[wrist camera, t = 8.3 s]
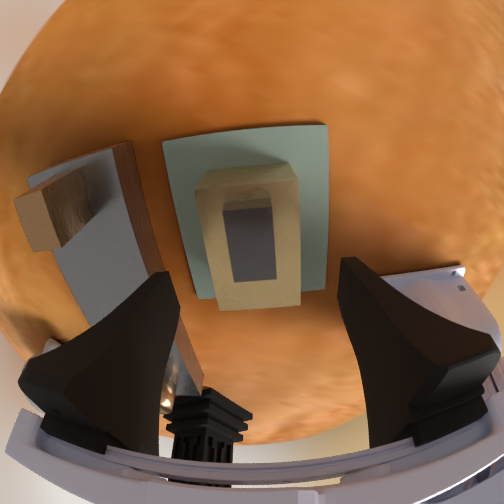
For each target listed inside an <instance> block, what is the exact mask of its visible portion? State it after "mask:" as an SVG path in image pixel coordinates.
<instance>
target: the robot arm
mask: <svg viewBox="0 0 504 504" xmlns="http://www.w3.org/2000/svg"><path fill="white" fill-rule="evenodd" d="M464 273H465V267H464V266H463V265H458V266H452V267H445V268H438V269H432V270H425V271H418V272H410V273H403V274H395V275H387V276H378V275H377V274H376V273H375V272H374V271H372V270H371V269H370V268H369V267H367V266H366V265H365V264H364V263H363V262H361V261H360V260H359V259H357V258H356V257H345V258H341V264H340V275H339V285H338V294H337V298H338V302H339V307H340V311H341V315H342V318H343V321H344V324H345V327H346V330H347V332H348V335H349V338H350V341H351V344H352V346H353V349H354V352H355V355H356V358H357V361H358V365H359V369H360V374H361V379H362V384H363V390H364V396H365V402H366V410H367V419H368V429H369V445H370V449H367V450H363V451H358V452H354V453H349V454H343V455H338V456H332V457H326V458H319V459H312V460H302V461H292V462H280V463H252V464H250V463H249V464H248V463H246V464H245V463H244V464H242V463H241V464H240V463H239V464H238V463H213V462H199V461H189V460H180V459H173V458H166V457H159V413H160V402H161V393H162V386H163V379H164V374H165V369H166V366H167V362H168V358H169V355H170V351H171V348H172V345H173V341H174V338H175V334H176V331H177V327H178V321H179V314H180V305H179V302H178V299H177V296H176V293H175V290H174V287H173V284H172V281H171V277H170V274H169V271H164V272H155V273H154V274H153V275H151V276H150V277H149V278H148V279H147V280H146V281H145V282H144V283H142V284H141V285H140V286H139V287H138V288H137V289H136V290H135V291H134V292H133V293H132V294H131V295H130V296H129V297H127V298H126V299H125V300H124V301H123V302H122V303H121V304H120V305H118V306H117V307H116V308H115V309H114V310H113V311H112V312H110V313H109V314H108V315H107V316H106V317H104V318H103V319H102V320H100V321H99V322H98V323H96V324H95V325H94V326H92V327H91V328H89V329H88V330H86V331H85V332H83V333H82V334H80V335H78V336H77V337H75V338H74V339H72V340H70V341H68V342H67V343H65V344H63V345H61V346H59V347H57V348H55V349H53V350H51V351H49V352H46V353H44V354H41V355H39V356H36V357H34V358H31V359H29V361H28V363H27V364H26V366H25V368H24V370H23V372H22V374H21V376H20V377H19V380H18V384H19V387H20V389H21V390H22V391H23V392H24V394H25V395H26V396H27V397H28V398H29V399H30V400H31V401H32V402H33V403H35V404H36V405H37V406H38V407H39V408H40V409H41V410H42V411H43V412H44V413H45V416H44V418H41V417H40V416H38V415H36V414H34V413H32V412H30V411H28V410H26V409H23V408H22V409H21V410H20V413H19V415H18V418H17V420H16V423H15V425H14V427H13V430H12V432H11V435H10V438H9V440H8V443H7V446H6V449H5V453H6V454H8V455H9V456H11V457H12V458H13V459H15V460H16V461H18V462H19V463H21V464H22V465H24V466H25V467H27V468H28V469H30V470H31V471H33V472H35V473H36V474H38V475H39V476H41V477H43V478H45V479H46V480H48V481H50V482H52V483H53V484H55V485H57V486H59V487H61V488H62V489H64V490H66V491H68V492H70V493H72V494H75V495H76V496H78V497H81V498H83V499H85V500H87V501H90V502H92V503H95V504H504V357H500V356H501V348H502V339H501V333H500V329H499V326H498V324H497V321H496V320H495V318H494V317H493V315H492V314H491V313H490V311H489V310H488V308H487V307H486V306H485V304H484V303H483V302H482V300H481V299H480V298H479V296H478V295H477V294H476V293H475V291H474V290H473V289H472V288H471V286H470V285H469V284H468V283H467V281H466V280H465V279H464V278H463V276H464ZM346 475H347V476H346ZM156 476H158V477H156ZM341 476H343V477H342V478H341V479H340V482H341V483H339V484H334V485H325V486H315V487H285V488H222V487H208V486H198V485H189V484H182V483H175V482H169V481H167V480H166V479H164V478H170V479H176V480H183V481H191V482H200V483H212V484H229V485H270V484H287V483H299V482H308V481H316V480H322V479H330V478H336V477H341ZM160 477H164V478H160Z"/></svg>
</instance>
